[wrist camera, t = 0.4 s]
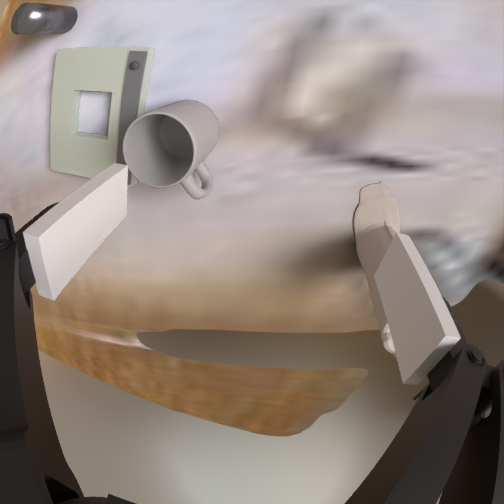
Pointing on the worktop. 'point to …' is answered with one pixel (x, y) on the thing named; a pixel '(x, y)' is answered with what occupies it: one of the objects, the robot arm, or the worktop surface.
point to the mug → (173, 146)
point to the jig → (121, 111)
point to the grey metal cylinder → (43, 19)
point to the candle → (376, 243)
